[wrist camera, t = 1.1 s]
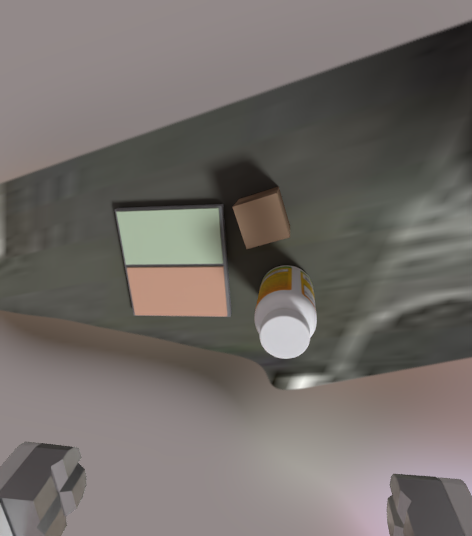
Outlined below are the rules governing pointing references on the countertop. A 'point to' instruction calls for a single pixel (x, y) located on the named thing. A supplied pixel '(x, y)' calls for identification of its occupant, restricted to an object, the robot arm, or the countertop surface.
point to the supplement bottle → (285, 311)
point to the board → (176, 260)
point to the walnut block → (262, 218)
